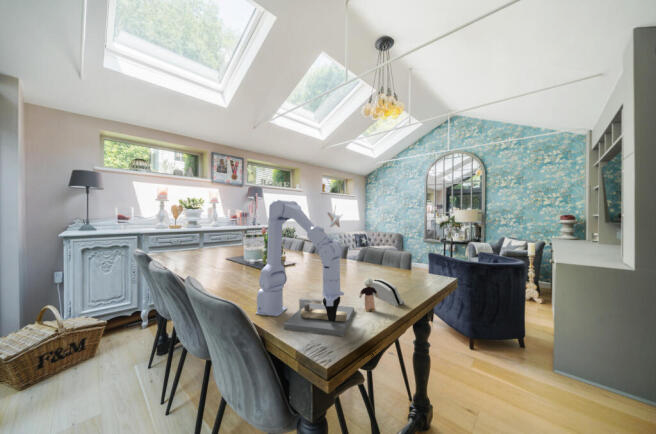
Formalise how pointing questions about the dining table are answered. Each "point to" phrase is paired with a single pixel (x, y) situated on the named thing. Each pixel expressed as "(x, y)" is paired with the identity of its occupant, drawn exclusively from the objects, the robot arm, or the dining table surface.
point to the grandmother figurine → (369, 295)
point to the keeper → (307, 300)
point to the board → (320, 322)
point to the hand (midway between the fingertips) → (332, 320)
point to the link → (321, 313)
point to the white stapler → (387, 292)
